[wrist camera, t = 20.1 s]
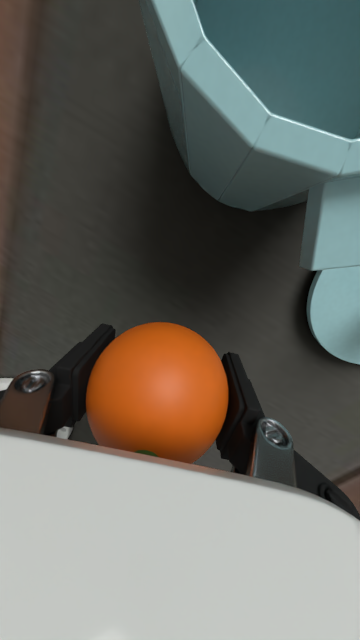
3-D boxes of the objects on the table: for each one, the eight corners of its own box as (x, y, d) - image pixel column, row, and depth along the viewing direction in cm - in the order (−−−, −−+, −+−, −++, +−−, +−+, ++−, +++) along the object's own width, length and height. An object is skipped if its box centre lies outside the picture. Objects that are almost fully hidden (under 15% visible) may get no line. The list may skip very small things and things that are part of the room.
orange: (114, 379, 13) (29, 533, 6) (123, 292, 10) (-5, 394, 4) (202, 398, 13) (214, 567, 6) (232, 318, 11) (305, 459, 4)
